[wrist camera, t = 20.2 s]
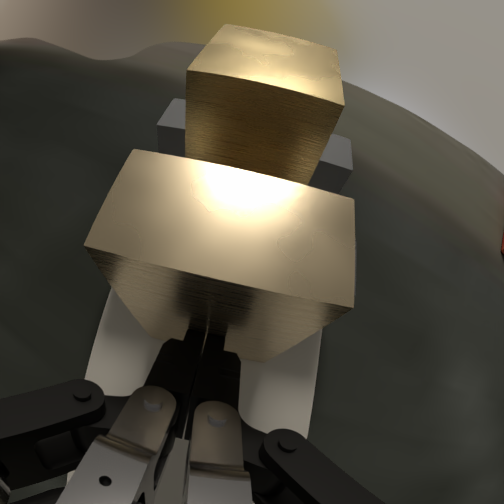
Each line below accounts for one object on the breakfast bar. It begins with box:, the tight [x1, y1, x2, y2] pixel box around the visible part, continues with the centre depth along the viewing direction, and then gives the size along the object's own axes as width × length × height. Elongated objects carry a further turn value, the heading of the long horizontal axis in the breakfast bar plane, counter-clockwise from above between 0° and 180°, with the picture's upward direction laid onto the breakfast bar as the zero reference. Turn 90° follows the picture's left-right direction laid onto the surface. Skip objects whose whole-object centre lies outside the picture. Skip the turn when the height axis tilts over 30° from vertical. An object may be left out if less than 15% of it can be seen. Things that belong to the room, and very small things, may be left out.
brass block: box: [185, 24, 345, 186], centre depth 14 cm, size 5×5×11 cm
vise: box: [67, 98, 353, 504], centre depth 15 cm, size 12×24×5 cm, turn 170°
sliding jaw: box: [84, 149, 356, 363], centre depth 12 cm, size 12×6×10 cm, turn 80°
